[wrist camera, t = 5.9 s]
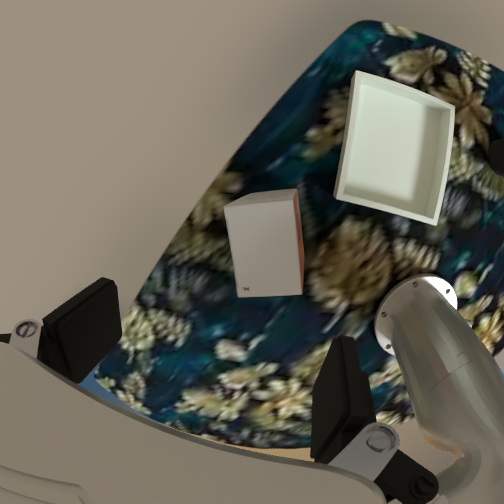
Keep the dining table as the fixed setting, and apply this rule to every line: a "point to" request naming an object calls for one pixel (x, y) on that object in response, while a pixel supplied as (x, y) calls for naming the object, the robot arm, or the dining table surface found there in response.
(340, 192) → the tray
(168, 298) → the dining table surface
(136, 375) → the dining table surface
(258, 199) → the small box
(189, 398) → the dining table surface
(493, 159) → the drinking cup
